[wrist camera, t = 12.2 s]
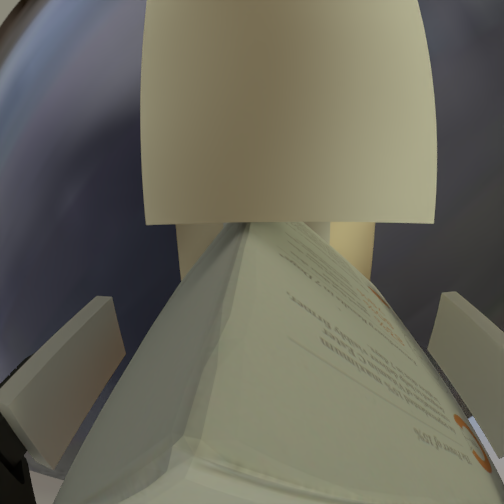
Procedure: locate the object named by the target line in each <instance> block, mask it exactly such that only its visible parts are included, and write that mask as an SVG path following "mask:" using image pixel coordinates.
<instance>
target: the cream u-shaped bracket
mask: <svg viewBox="0 0 504 504" xmlns="http://www.w3.org/2000/svg"><path fill="white" fill-rule="evenodd" d="M140 128H141V163H142V182H143V196H144V209H145V220H146V225H163V224H176V233H177V245H178V255H179V265H180V275H181V281H182V280H183V278H184V277H185V276H186V274H187V273H188V272H189V271H190V269H191V268H192V267H193V265H194V264H195V263H196V262H197V260H198V259H199V258H200V257H201V255H202V254H203V253H204V252H205V250H206V249H207V248H208V246H209V245H210V244H211V243H212V241H213V240H214V239H215V238H216V236H217V235H218V234H219V233H220V231H221V230H222V229H223V228H224V227H225V225H226V224H227V223H233V222H304V223H305V224H306V225H307V226H308V227H310V228H311V229H312V230H313V231H314V232H315V233H317V234H318V235H319V236H320V237H321V238H322V239H324V240H325V241H326V242H327V243H328V244H329V245H330V246H332V247H333V248H334V249H335V250H336V251H337V252H338V253H340V254H341V255H342V256H343V257H344V258H345V259H346V260H347V261H348V262H350V263H351V264H352V265H353V266H354V267H355V268H356V269H357V270H358V271H359V272H360V273H362V274H363V275H364V276H365V277H366V278H367V279H368V280H369V281H370V274H371V265H372V255H373V243H374V230H375V222H392V223H430V224H434V215H435V201H436V181H437V132H436V113H435V100H434V89H433V80H432V72H431V65H430V59H429V52H428V47H427V41H426V36H425V31H424V26H423V22H422V17H421V13H420V9H419V5H418V1H417V0H147V5H146V14H145V24H144V35H143V49H142V66H141V99H140Z"/></svg>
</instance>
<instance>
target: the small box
mask: <svg viewBox="0 0 504 504" xmlns="http://www.w3.org/2000/svg"><path fill="white" fill-rule="evenodd" d="M53 504H504V484H503V482H502V480H501V478H500V476H499V474H498V472H497V470H496V468H495V466H494V464H493V462H492V461H491V459H490V457H489V455H488V453H487V451H486V450H485V448H484V446H483V444H482V443H481V441H480V439H479V437H478V436H477V434H476V432H475V430H474V429H473V427H472V425H471V424H470V422H469V420H468V419H467V417H466V415H465V414H464V412H463V410H462V409H461V407H460V406H459V404H458V402H457V401H456V399H455V398H454V396H453V395H452V393H451V391H450V390H449V388H448V387H447V385H446V384H445V382H444V381H443V379H442V378H441V376H440V375H439V373H438V372H437V370H436V369H435V367H434V366H433V364H432V363H431V361H430V360H429V358H428V357H427V355H426V354H425V353H424V351H423V350H422V349H421V347H420V346H419V345H418V343H417V342H416V341H415V339H414V338H413V336H412V335H411V334H410V332H409V331H408V329H407V328H406V327H405V325H404V324H403V323H402V321H401V320H400V319H399V317H398V316H397V315H396V313H395V312H394V311H393V309H392V308H391V307H390V305H389V304H388V303H387V301H386V300H385V299H384V297H383V296H382V295H381V293H380V292H379V291H378V289H377V288H376V287H375V286H374V285H373V284H372V283H371V282H370V281H369V280H368V279H367V278H366V277H365V276H364V275H363V274H362V273H360V272H359V271H358V270H357V269H356V268H355V267H354V266H353V265H352V264H351V263H350V262H348V261H347V260H346V259H345V258H344V257H343V256H342V255H341V254H340V253H338V252H337V251H336V250H335V249H334V248H333V247H332V246H330V245H329V244H328V243H327V242H326V241H325V240H324V239H322V238H321V237H320V236H319V235H318V234H317V233H315V232H314V231H313V230H312V229H311V228H310V227H308V226H307V225H306V224H305V223H304V222H233V223H227V224H226V225H225V227H224V228H223V229H222V230H221V231H220V233H219V234H218V235H217V236H216V238H215V239H214V240H213V241H212V243H211V244H210V245H209V246H208V248H207V249H206V250H205V252H204V253H203V254H202V255H201V257H200V258H199V259H198V260H197V262H196V263H195V264H194V265H193V267H192V268H191V269H190V271H189V272H188V273H187V274H186V276H185V277H184V278H183V280H182V281H181V283H180V284H179V285H178V287H177V288H176V290H175V291H174V293H173V294H172V296H171V297H170V299H169V300H168V302H167V304H166V305H165V307H164V308H163V310H162V311H161V313H160V314H159V316H158V317H157V318H156V320H155V322H154V323H153V325H152V326H151V328H150V330H149V331H148V333H147V334H146V336H145V338H144V339H143V341H142V343H141V344H140V346H139V348H138V349H137V351H136V353H135V355H134V356H133V358H132V359H131V361H130V363H129V364H128V366H127V368H126V369H125V371H124V373H123V374H122V376H121V378H120V379H119V381H118V383H117V384H116V386H115V388H114V389H113V391H112V393H111V394H110V396H109V398H108V400H107V401H106V403H105V405H104V407H103V408H102V410H101V412H100V414H99V415H98V417H97V419H96V421H95V423H94V424H93V426H92V428H91V430H90V431H89V433H88V435H87V437H86V439H85V441H84V443H83V445H82V447H81V448H80V450H79V452H78V454H77V456H76V458H75V460H74V461H73V463H72V465H71V467H70V470H69V472H68V474H67V476H66V478H65V480H64V482H63V484H62V486H61V488H60V490H59V492H58V494H57V496H56V498H55V500H54V503H53Z"/></svg>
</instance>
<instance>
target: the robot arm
mask: <svg viewBox="0 0 504 504" xmlns="http://www.w3.org/2000/svg"><path fill="white" fill-rule="evenodd" d="M427 350H428V351H429V353H430V354H431V355H432V357H433V358H434V359H435V361H436V362H437V364H438V365H439V366H440V368H441V369H442V371H443V372H444V373H445V375H446V376H447V378H448V379H449V381H450V382H451V383H452V385H453V386H454V388H455V389H456V391H457V392H458V394H459V395H460V397H461V398H462V400H463V401H464V403H465V404H466V406H467V407H468V409H469V410H470V412H471V413H472V415H473V417H474V418H475V420H476V421H477V423H478V424H479V426H480V428H481V429H482V431H483V432H484V434H485V436H486V437H487V439H488V441H489V442H490V444H491V446H492V447H493V449H494V451H495V453H496V454H497V456H498V458H499V459H500V458H502V457H504V332H503V331H502V330H500V329H499V328H498V327H497V326H496V325H495V324H494V323H493V322H491V321H490V320H489V319H488V318H487V317H486V316H485V315H483V314H482V313H481V312H480V311H479V310H478V309H476V308H475V307H474V306H473V305H472V304H470V303H469V302H468V301H467V300H466V299H464V298H463V297H462V296H461V295H459V294H458V293H457V292H456V291H455V292H443V293H442V294H441V299H440V303H439V307H438V312H437V316H436V320H435V324H434V327H433V331H432V335H431V338H430V342H429V345H428V348H427ZM125 355H126V352H125V348H124V344H123V341H122V337H121V333H120V329H119V325H118V321H117V316H116V312H115V308H114V303H113V298H112V297H107V296H96V297H95V298H94V299H93V300H91V301H90V302H89V303H88V304H87V305H86V306H85V307H84V308H82V309H81V310H80V311H79V312H78V313H77V314H76V315H75V316H74V317H73V318H71V319H70V320H69V321H68V322H67V323H66V324H65V325H64V326H63V327H62V328H61V329H60V330H59V331H57V332H56V333H55V334H54V335H53V336H52V337H51V338H50V339H49V340H48V341H47V342H46V343H45V344H44V345H43V346H42V347H41V348H40V349H39V350H38V351H37V352H36V353H34V354H32V355H31V356H29V357H27V358H25V359H24V360H23V361H22V362H21V363H20V364H19V365H18V366H17V369H14V370H13V371H12V372H11V373H10V376H9V375H8V376H7V377H6V379H5V380H4V381H3V382H2V383H1V384H0V504H36V501H35V497H34V493H33V488H32V483H31V478H30V473H29V467H28V463H27V460H26V458H25V457H24V454H25V453H26V451H28V452H29V453H30V455H31V456H32V457H33V459H34V460H35V461H36V462H37V463H40V464H42V465H44V466H46V467H48V468H50V469H52V470H54V469H55V467H56V466H57V464H58V462H59V460H60V459H61V457H62V455H63V453H64V452H65V450H66V448H67V447H68V445H69V443H70V442H71V440H72V438H73V437H74V435H75V433H76V432H77V430H78V428H79V427H80V425H81V423H82V422H83V420H84V419H85V417H86V415H87V414H88V412H89V411H90V409H91V407H92V406H93V404H94V403H95V401H96V399H97V398H98V396H99V395H100V393H101V392H102V390H103V388H104V387H105V385H106V384H107V382H108V381H109V379H110V378H111V376H112V375H113V373H114V372H115V370H116V368H117V367H118V365H119V364H120V362H121V361H122V359H123V358H124V356H125Z"/></svg>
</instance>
